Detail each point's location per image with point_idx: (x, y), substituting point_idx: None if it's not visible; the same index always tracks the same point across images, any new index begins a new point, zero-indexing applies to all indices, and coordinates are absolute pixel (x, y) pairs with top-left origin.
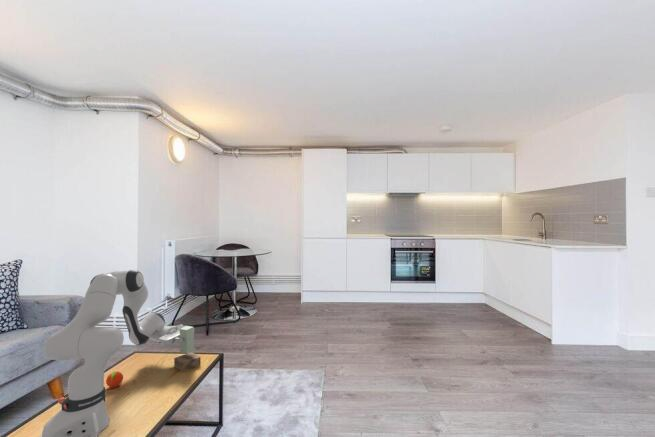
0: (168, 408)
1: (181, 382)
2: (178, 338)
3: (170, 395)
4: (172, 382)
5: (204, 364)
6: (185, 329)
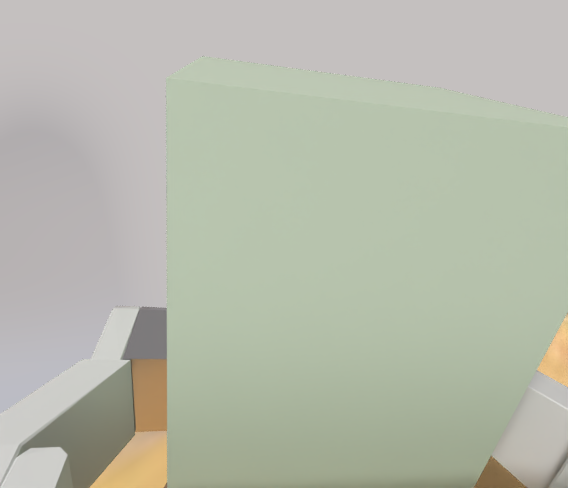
0: (565, 320)
1: None
2: (559, 389)
3: (549, 374)
4: (517, 481)
5: (165, 472)
6: (448, 92)
